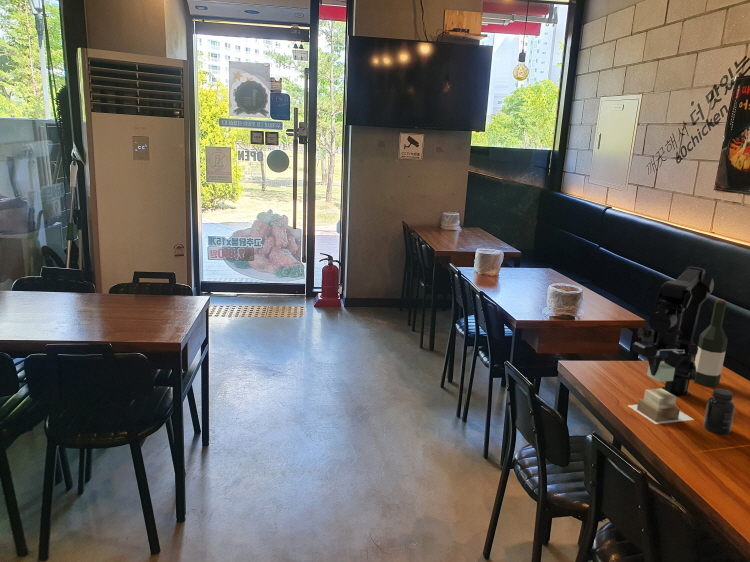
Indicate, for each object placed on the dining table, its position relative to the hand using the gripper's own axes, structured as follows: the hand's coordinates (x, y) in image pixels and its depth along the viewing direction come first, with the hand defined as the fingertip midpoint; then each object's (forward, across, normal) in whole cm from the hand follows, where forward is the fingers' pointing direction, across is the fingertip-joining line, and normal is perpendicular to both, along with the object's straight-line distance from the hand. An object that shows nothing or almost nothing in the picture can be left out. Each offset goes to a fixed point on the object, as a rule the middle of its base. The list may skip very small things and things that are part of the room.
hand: (660, 374), depth 168 cm
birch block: (+9, 0, +1) cm, 9 cm away
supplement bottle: (+13, -11, +12) cm, 21 cm away
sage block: (+1, 0, 0) cm, 1 cm away
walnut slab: (+12, 0, +1) cm, 12 cm away
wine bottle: (+12, -36, -18) cm, 42 cm away
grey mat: (+13, -2, 0) cm, 13 cm away
